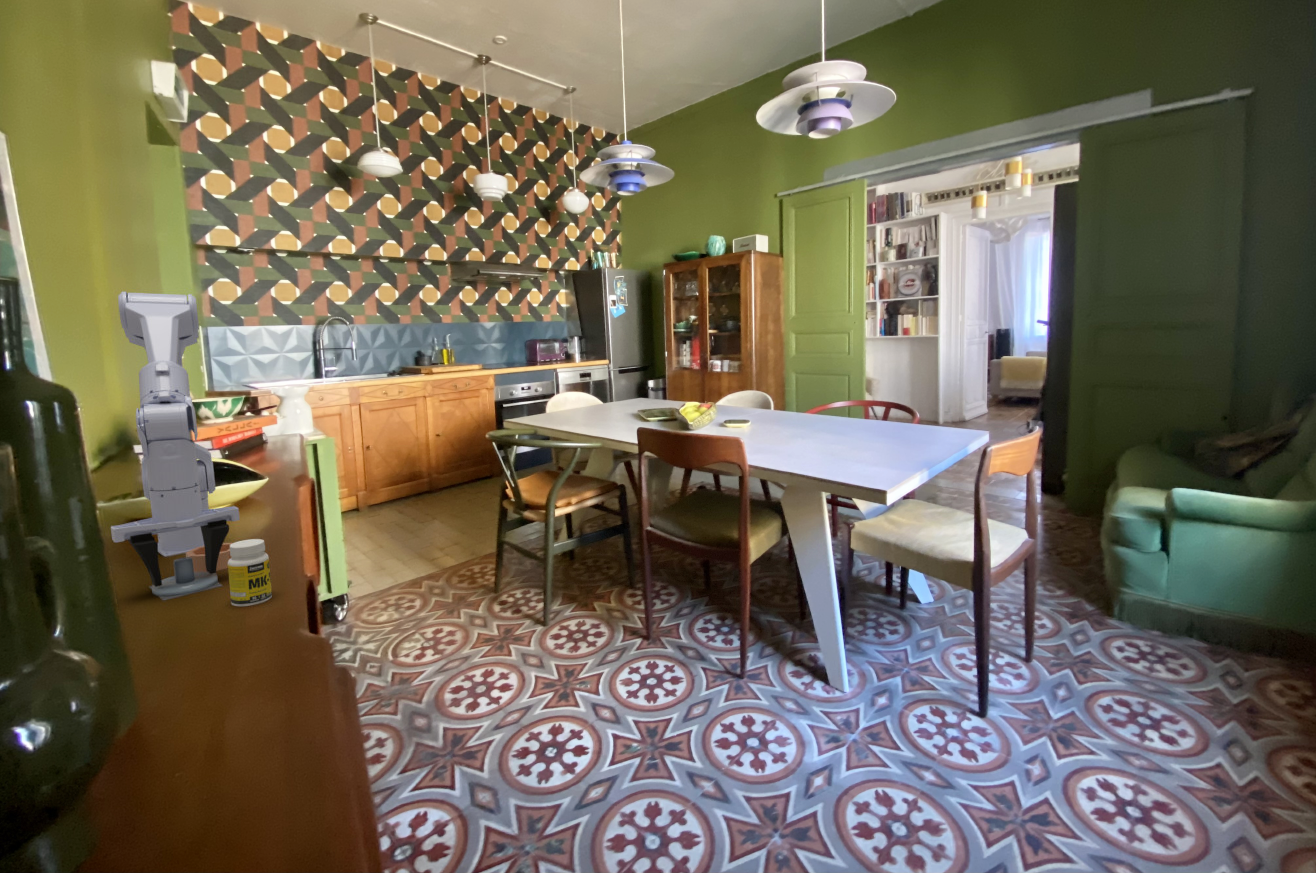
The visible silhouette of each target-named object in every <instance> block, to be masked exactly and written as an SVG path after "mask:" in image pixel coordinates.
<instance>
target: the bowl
mask: <svg viewBox="0 0 1316 873" xmlns="http://www.w3.org/2000/svg"><path fill="white" fill-rule="evenodd" d="M233 543H234V542H223V544H222V547H221V550H220V553H219V557H218V561H217V568H216V572H218V571H223V570H228V561H229V559H230V558H232V556H230V545H231V544H233ZM185 557H191V558H192V559H193V568H194V572H207V570H206V564H205V547H204V546H201V547H198V548H194V549H192V550H190V551H188V552H186V553H185Z"/></svg>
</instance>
